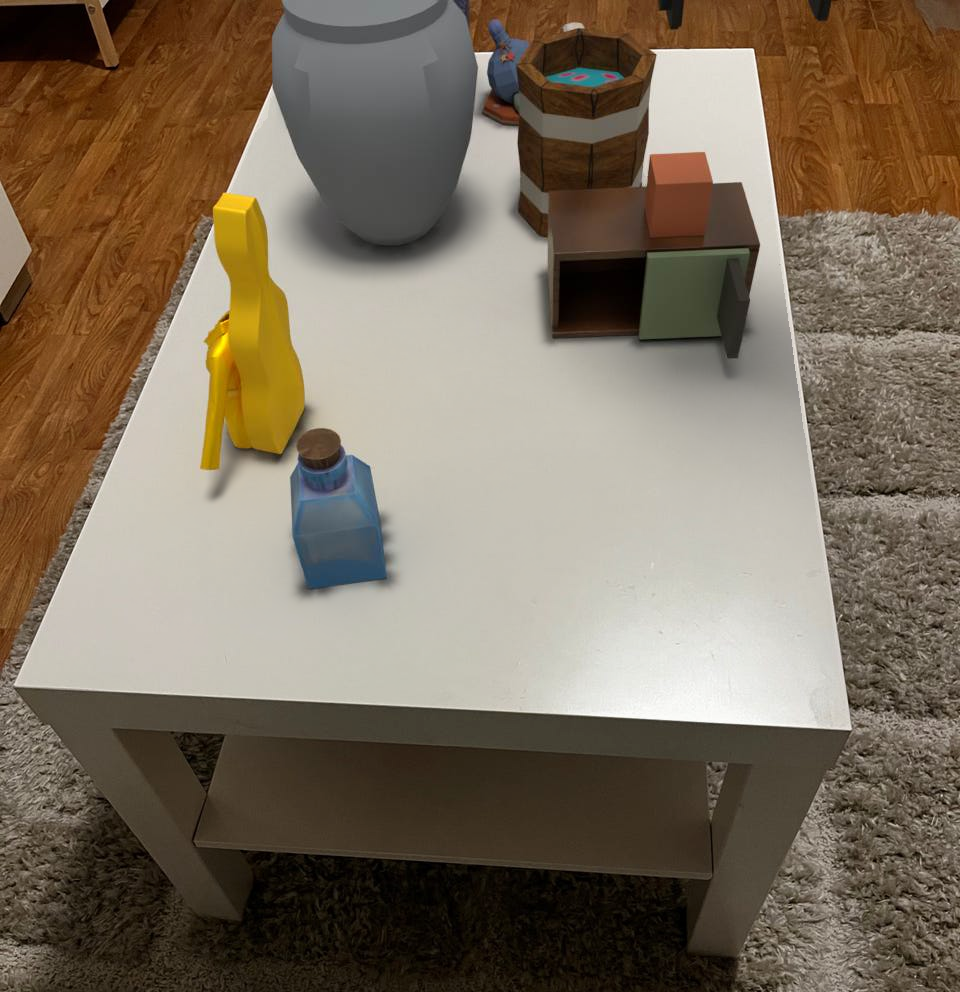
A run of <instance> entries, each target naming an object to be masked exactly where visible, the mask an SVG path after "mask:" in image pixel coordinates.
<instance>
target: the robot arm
mask: <svg viewBox="0 0 960 992" xmlns="http://www.w3.org/2000/svg"><path fill="white" fill-rule="evenodd" d="M837 1H838V0H808V1H807V3H808V5H809V8H810V10H811V12H812V14H813V16H814V19H815V20H817V22H827V21H828V19H829V15H830V11H831V6H832V2H837ZM657 6H658V10H659V12H664V11H665V15H666V18H667V22H668V23H667V24H668V26H669V30H670V31H671V30H673V31H674V30H679V28H681V27H682V24H683V16H684V7H685V0H657Z"/></svg>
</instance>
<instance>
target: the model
mask: <svg viewBox="0 0 960 992" xmlns="http://www.w3.org/2000/svg"><path fill="white" fill-rule="evenodd" d="M487 31H488V33H489V35H490V37H491V39H492V40H493V42H494V44H495V47H496V48H495V49H494V50H493V52H492V54H491V56H490V58H489V59H488V63H487V69H486V75H487V80H488V85H489V87H490V91H489V94H488V96H487V98H486V101H485V102H484V104H483V107H482V109H481V114H482V115H483V116H486V117H488V118H489V119H492V120H493V121H495V122H497V123H500V124H501V125H503V126H504V125H505V126H517V127H519V115H520V113H519V85H518V77H517V69H516V64H517V63H518V61H519V60H520V58H521V57H522V55H523V54H524V52H525V51H526V49H527V48H528V46H529V45H530V43H531V42H529V41H527V40H522V39H518V38H510V36H509V34H508V33H507V32H506V29H505V28H504V24H503V22H502V21H501V20H499V19H498V18H494V19H492V20H490V21H489V22H488V25H487Z"/></svg>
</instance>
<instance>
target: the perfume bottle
mask: <svg viewBox="0 0 960 992" xmlns="http://www.w3.org/2000/svg"><path fill="white" fill-rule="evenodd" d="M295 444H296V445H295V448H296V451H297V453H298V454H297V463H296V466H295V467H294V470H293V471H292V473H291V474H290V476H289V484H290V485H289V486H290V506H291V507H290V508H291V532H292V534H291V535H292V539H293V543H294V546H295V550H296V553H297V556H298V559H299V563H300V566H301V570H302V573H303V576H304V579H305V582H306V586H307V589H308V590H312V589H318V588H325V587H326V588H327V587H333V586H340V585H347V584H348V585H349V584H354V583H362V582H370V581H377V580H384V579H387V578H388V577H387V568H386V558H385V550H384V542H383V540H384V539H383V533H382V524H381V517H380V511H379V506H378V501H377V496H376V491H375V485H374V484H375V483H374V480H373V475H372V474H373V473H372V470H371V466H370V464H367V463H366V462H364V461H362V460H361V459H360V458H358V457H357V456H355V455H353V454H347V453H346V450H345V447H344V446H343V445H342V440H341V437H340V435H339V433H338V432H336V431H335V430H333V429H330V428H327V427H326V428H325V427H317V428H313V429H309V430H308V431H305V432H304V433H302V434H301V436H299V437H298V439H297V441H296V443H295Z"/></svg>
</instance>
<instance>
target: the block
mask: <svg viewBox="0 0 960 992" xmlns="http://www.w3.org/2000/svg"><path fill="white" fill-rule="evenodd" d="M713 183H714V180H713V177H712V173H711V169H710V165H709V162H708V158H707V155H706V152H705V151H693V152H674V153H673V152H672V153H670V152H669V153H652V154H649V159H648V169H647V179H646V187H647V188H646V198H645V213H646V218H647V223H648V228H649V234H650V238H659V237H681V236H703V235H705V229H706V223H707V217H708V210H709V204H710V198H711V191H712V185H713Z"/></svg>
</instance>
